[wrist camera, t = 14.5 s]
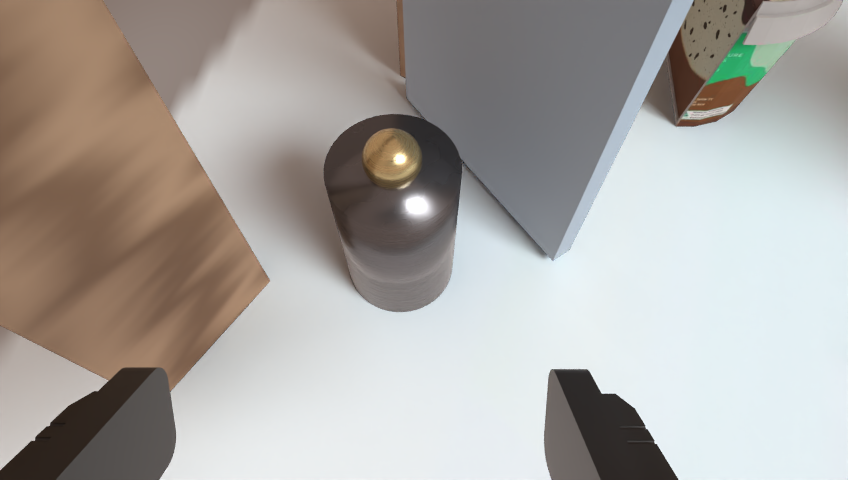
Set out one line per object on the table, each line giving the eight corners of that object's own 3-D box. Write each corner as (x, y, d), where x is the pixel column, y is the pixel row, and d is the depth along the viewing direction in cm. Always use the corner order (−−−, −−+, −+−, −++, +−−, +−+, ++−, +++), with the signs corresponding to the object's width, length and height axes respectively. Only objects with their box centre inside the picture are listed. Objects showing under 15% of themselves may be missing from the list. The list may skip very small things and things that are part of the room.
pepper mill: (390, 203, 33) (376, 64, 23) (471, 252, 31) (492, 125, 22) (328, 275, 30) (285, 154, 21) (412, 332, 29) (406, 230, 19)
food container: (781, 153, 34) (904, 18, 25) (678, 145, 35) (765, 10, 26) (745, 13, 40) (836, -136, 31) (658, 7, 40) (723, -142, 32)
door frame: (466, 7, 40) (508, -533, 20) (502, 23, 40) (584, -522, 19) (116, 369, 28) (-693, -76, 8) (157, 405, 27) (-623, 10, 7)
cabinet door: (406, 98, 36) (391, -257, 20) (439, 80, 36) (451, -276, 20) (552, 261, 30) (694, -47, 14) (588, 236, 31) (761, -83, 15)
